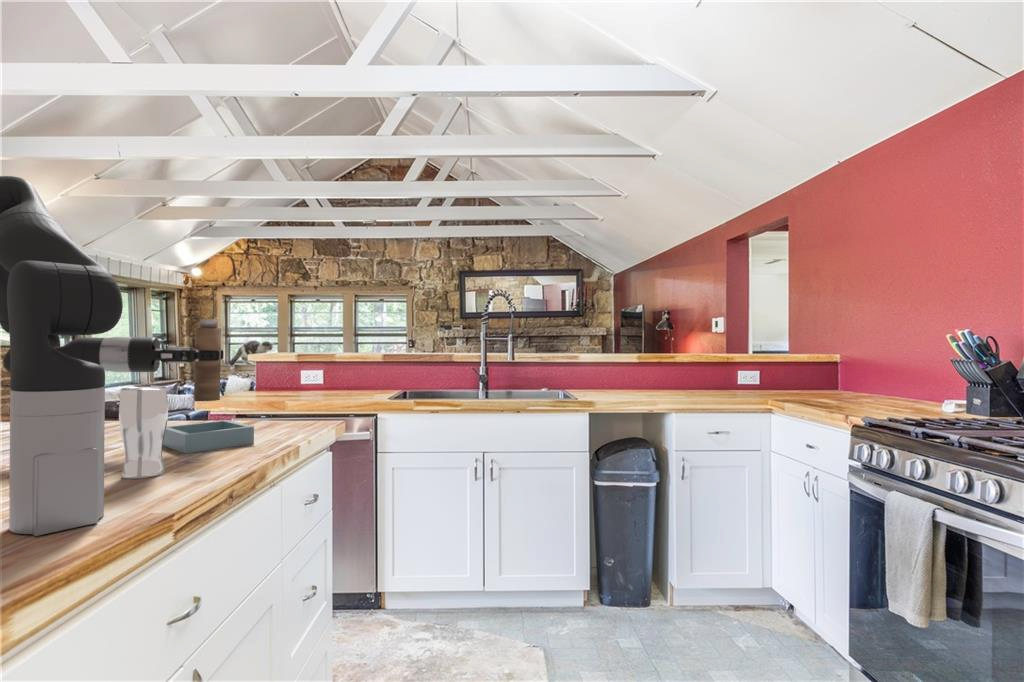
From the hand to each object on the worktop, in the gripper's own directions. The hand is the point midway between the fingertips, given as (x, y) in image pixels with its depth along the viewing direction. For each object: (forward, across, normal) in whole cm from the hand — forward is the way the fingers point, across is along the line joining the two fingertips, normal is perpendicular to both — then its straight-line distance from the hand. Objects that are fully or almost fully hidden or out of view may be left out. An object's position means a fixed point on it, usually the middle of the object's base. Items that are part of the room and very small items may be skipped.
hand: (221, 355), depth 118 cm
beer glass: (-8, -26, +20) cm, 34 cm away
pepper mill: (-3, 0, +10) cm, 10 cm away
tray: (-2, 0, +20) cm, 20 cm away
